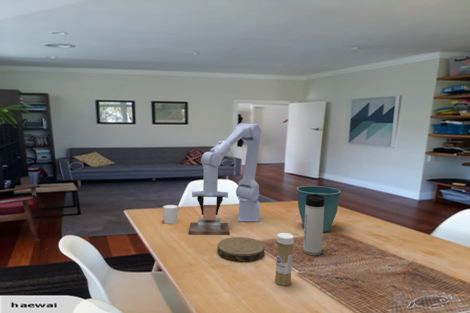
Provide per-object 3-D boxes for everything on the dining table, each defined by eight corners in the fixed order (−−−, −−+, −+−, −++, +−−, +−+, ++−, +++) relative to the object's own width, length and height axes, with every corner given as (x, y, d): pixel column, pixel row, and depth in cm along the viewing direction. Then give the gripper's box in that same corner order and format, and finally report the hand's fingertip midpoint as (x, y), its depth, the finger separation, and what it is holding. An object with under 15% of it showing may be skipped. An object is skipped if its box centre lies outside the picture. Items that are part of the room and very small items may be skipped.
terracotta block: (215, 216, 136) (215, 204, 136) (215, 220, 131) (216, 207, 131) (203, 216, 136) (203, 204, 135) (203, 219, 131) (203, 207, 130)
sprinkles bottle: (271, 282, 90) (273, 234, 89) (280, 276, 93) (282, 231, 92) (285, 287, 87) (288, 239, 86) (294, 282, 91) (296, 235, 89)
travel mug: (322, 250, 115) (325, 194, 113) (320, 256, 109) (324, 198, 107) (304, 247, 117) (307, 192, 115) (301, 254, 111) (305, 196, 109)
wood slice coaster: (258, 266, 101) (258, 257, 100) (210, 259, 105) (210, 250, 105) (268, 248, 116) (268, 240, 116) (225, 242, 120) (226, 234, 120)
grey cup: (180, 220, 145) (180, 205, 145) (176, 224, 139) (176, 208, 138) (165, 219, 146) (165, 204, 145) (160, 223, 139) (160, 207, 139)
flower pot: (290, 231, 136) (292, 190, 134) (299, 220, 152) (301, 184, 151) (336, 237, 129) (338, 195, 127) (339, 225, 146) (341, 188, 144)
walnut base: (228, 225, 140) (228, 217, 140) (229, 234, 128) (229, 225, 128) (190, 225, 139) (190, 216, 139) (188, 234, 127) (188, 225, 127)
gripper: (191, 182, 127) (191, 216, 128) (228, 183, 128) (227, 217, 129) (192, 179, 134) (192, 212, 135) (228, 180, 135) (227, 212, 136)
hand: (209, 214), depth 133 cm, fingers closed on terracotta block, 5 cm apart
